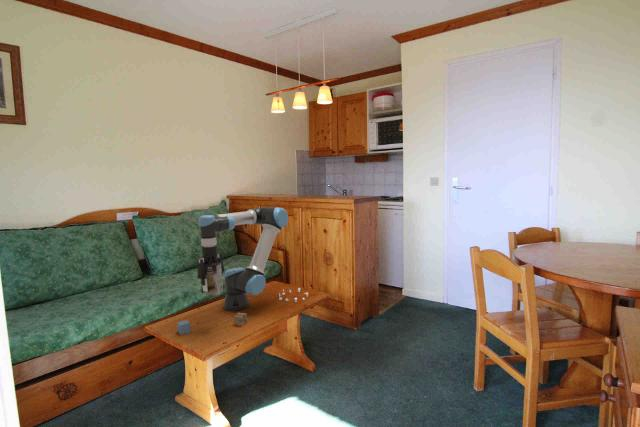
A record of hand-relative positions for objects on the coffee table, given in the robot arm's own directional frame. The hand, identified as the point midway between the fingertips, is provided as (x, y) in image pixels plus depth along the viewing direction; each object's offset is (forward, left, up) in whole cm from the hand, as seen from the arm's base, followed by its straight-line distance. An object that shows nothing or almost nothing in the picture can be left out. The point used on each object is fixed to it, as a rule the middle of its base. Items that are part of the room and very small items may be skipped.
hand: (212, 288), depth 193 cm
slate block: (+12, -9, -21) cm, 26 cm away
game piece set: (-57, +8, -22) cm, 61 cm away
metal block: (-10, +9, -21) cm, 25 cm away
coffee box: (0, 0, -3) cm, 3 cm away
